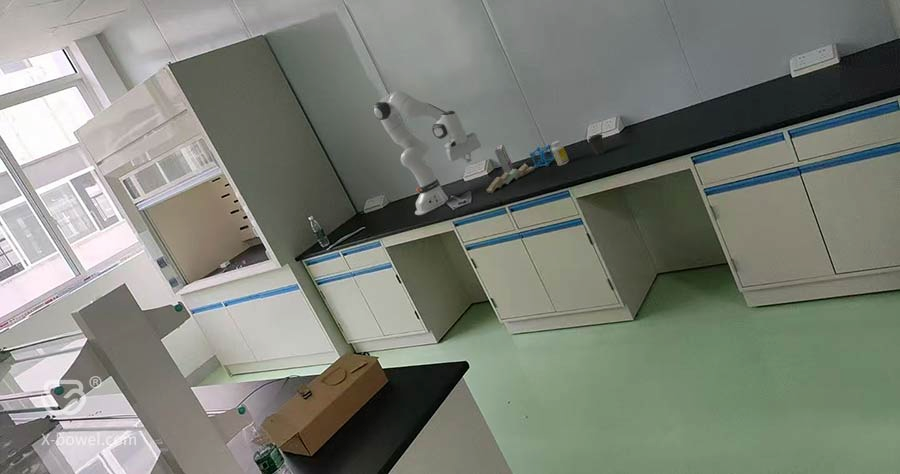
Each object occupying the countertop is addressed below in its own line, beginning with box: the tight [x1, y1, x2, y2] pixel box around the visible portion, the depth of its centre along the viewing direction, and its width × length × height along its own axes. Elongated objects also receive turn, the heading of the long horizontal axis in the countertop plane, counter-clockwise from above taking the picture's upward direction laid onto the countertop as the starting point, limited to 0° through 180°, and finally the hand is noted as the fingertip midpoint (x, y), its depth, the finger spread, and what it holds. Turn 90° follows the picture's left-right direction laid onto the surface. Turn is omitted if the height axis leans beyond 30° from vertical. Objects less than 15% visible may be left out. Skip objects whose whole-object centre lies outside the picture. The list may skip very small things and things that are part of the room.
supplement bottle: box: [550, 140, 570, 167], centre depth 352 cm, size 7×7×13 cm
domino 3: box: [513, 163, 530, 181], centre depth 367 cm, size 2×5×10 cm
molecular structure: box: [529, 144, 556, 169], centre depth 368 cm, size 10×10×10 cm
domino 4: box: [519, 166, 536, 178], centre depth 370 cm, size 2×5×10 cm
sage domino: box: [503, 168, 519, 185], centre depth 367 cm, size 2×5×10 cm
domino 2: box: [496, 172, 511, 189], centre depth 366 cm, size 2×5×10 cm
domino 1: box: [486, 176, 503, 194], centre depth 364 cm, size 2×5×10 cm
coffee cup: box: [587, 133, 606, 156], centre depth 339 cm, size 8×8×10 cm
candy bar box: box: [494, 143, 514, 174], centre depth 388 cm, size 11×5×16 cm, turn 168°
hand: (469, 161), depth 356 cm, fingers closed
